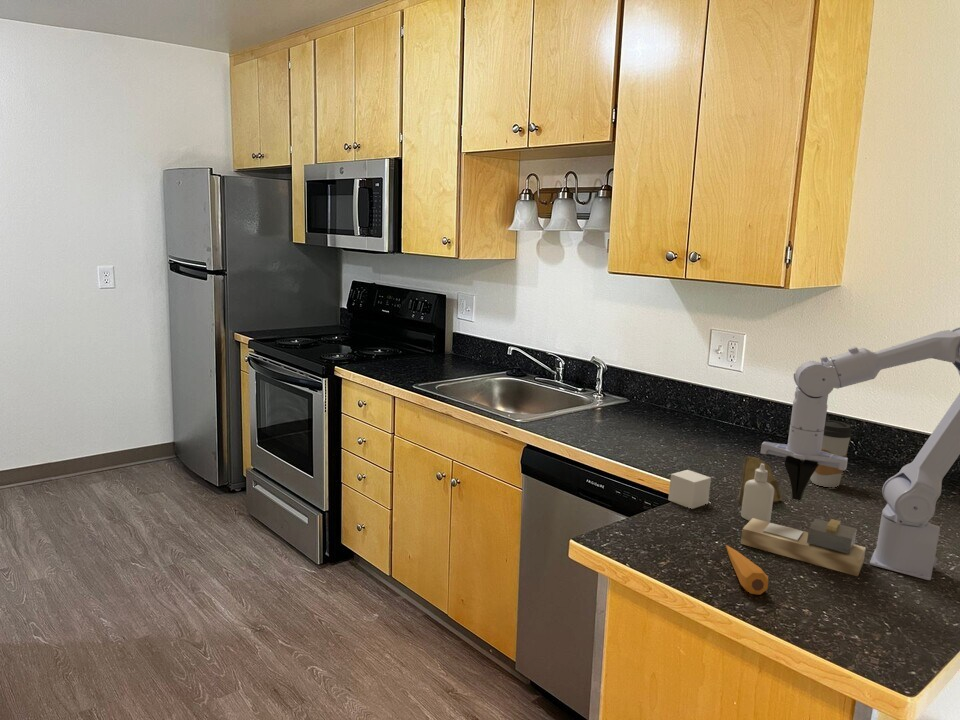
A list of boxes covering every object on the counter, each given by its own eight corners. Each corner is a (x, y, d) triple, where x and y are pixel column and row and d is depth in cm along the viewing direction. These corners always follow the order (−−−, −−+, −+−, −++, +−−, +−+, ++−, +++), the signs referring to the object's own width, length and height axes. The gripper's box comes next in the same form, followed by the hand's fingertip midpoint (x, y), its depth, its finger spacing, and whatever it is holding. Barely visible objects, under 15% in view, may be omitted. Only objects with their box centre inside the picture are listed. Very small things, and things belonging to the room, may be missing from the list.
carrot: (763, 603, 118) (777, 579, 118) (738, 590, 118) (752, 566, 118) (730, 560, 138) (742, 539, 138) (708, 549, 138) (720, 528, 138)
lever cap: (854, 543, 134) (857, 523, 133) (849, 554, 129) (852, 533, 128) (813, 532, 138) (816, 513, 137) (806, 542, 133) (809, 522, 132)
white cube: (668, 500, 160) (670, 474, 159) (684, 495, 164) (687, 469, 163) (691, 509, 156) (694, 482, 155) (708, 504, 159) (711, 477, 158)
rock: (779, 484, 168) (734, 474, 169) (793, 463, 161) (746, 452, 163) (780, 525, 161) (733, 514, 162) (794, 505, 154) (746, 493, 155)
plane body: (863, 562, 134) (866, 545, 133) (857, 576, 128) (860, 558, 128) (750, 532, 145) (752, 516, 144) (740, 543, 139) (742, 527, 139)
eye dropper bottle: (755, 514, 155) (762, 459, 153) (773, 524, 150) (781, 468, 147) (737, 515, 153) (744, 460, 151) (755, 526, 148) (762, 469, 146)
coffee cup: (848, 485, 177) (857, 424, 175) (836, 493, 171) (846, 430, 169) (812, 476, 183) (821, 417, 180) (800, 483, 177) (808, 422, 174)
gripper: (760, 423, 135) (751, 494, 138) (847, 439, 127) (836, 514, 130) (769, 416, 141) (760, 484, 143) (853, 431, 133) (842, 503, 135)
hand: (797, 498), depth 137 cm, fingers closed
